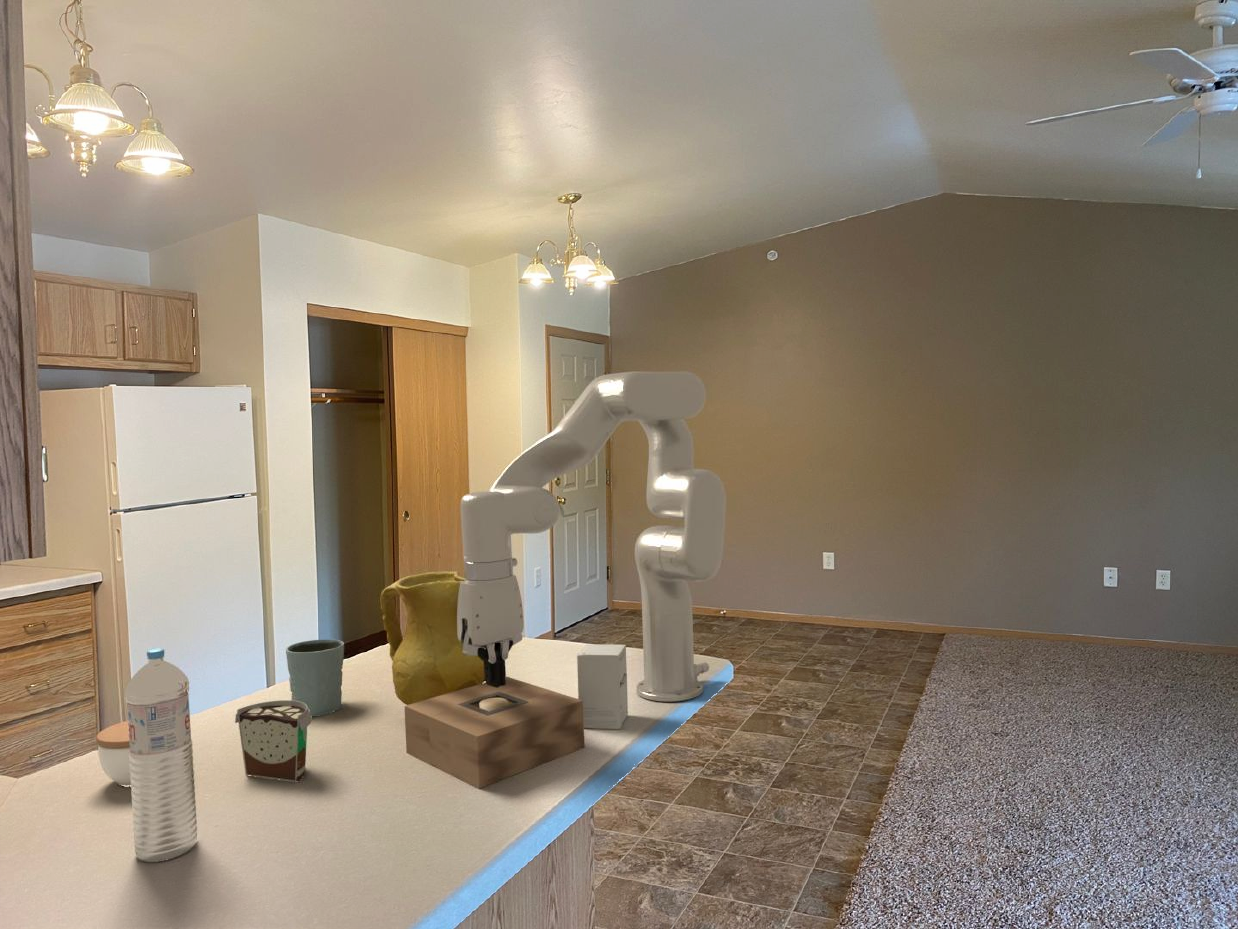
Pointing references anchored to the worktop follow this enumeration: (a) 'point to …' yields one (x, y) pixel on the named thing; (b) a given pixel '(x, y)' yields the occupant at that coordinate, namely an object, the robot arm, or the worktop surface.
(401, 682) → the pitcher
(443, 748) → the peg block
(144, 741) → the water bottle
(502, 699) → the peg
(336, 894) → the worktop surface
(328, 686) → the grey-green cup
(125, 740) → the lidded jar
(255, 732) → the food container
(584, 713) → the supplement box
